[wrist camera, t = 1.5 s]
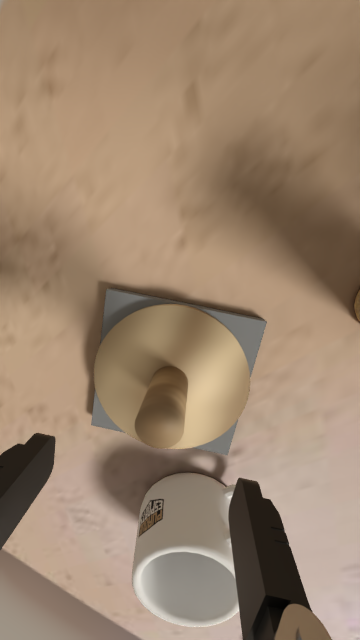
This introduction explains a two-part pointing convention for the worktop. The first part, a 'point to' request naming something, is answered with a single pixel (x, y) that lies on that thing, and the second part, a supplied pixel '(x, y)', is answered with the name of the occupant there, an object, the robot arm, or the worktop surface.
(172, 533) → the mug
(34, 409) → the worktop surface
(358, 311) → the sprinkles bottle
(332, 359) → the worktop surface
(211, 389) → the lid
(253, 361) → the mat
